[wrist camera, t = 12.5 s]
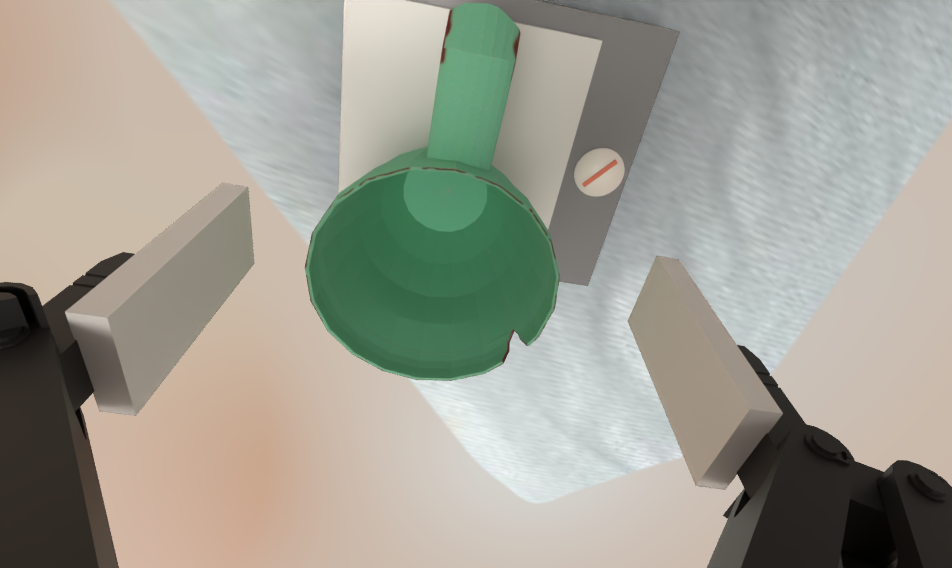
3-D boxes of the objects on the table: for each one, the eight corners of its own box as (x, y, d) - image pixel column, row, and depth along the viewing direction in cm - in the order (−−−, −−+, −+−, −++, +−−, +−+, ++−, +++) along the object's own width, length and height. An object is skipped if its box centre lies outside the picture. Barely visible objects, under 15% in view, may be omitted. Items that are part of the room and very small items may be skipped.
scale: (659, 26, 26) (685, 33, 23) (579, 262, 34) (590, 292, 31) (361, -37, 25) (345, -39, 21) (350, 226, 33) (336, 254, 29)
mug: (509, 279, 30) (523, 396, 22) (351, 252, 29) (303, 364, 21) (583, 18, 23) (649, 44, 14) (373, -32, 22) (308, -36, 13)
